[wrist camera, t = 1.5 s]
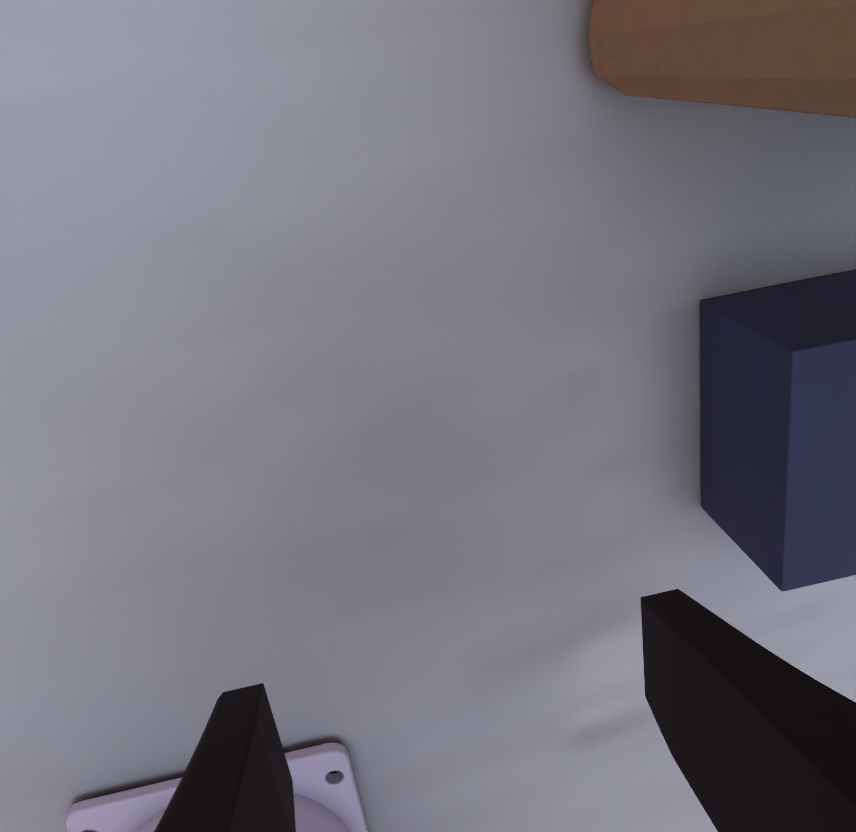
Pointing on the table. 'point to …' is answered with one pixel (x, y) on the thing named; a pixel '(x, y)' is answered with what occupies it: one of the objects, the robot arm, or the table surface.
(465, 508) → the table surface
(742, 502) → the navy block
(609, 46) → the wooden block
